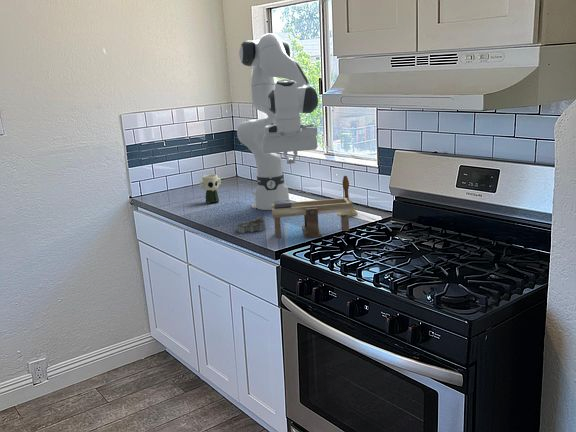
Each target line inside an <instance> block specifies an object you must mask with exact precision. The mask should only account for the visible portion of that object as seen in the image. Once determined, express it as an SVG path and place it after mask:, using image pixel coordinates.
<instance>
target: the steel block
mask: <svg viewBox="0 0 576 432" xmlns="http://www.w3.org/2000/svg"><path fill="white" fill-rule="evenodd" d="M291 201H292V200H291V199H289V200H283V201H274V206H275V209H280V208H291Z"/></svg>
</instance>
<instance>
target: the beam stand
mask: <svg viewBox="0 0 576 432" xmlns="http://www.w3.org/2000/svg"><path fill="white" fill-rule="evenodd" d="M273 220H274V221H273V222H274V224H273V225H274V235H275V236H274V237H275V238H282V229H281V217H277V218H273ZM303 220H304V225H301V229H302V232H303V235H304V238H305V239H313V238H322V237H323V234H322V232H321V230H320V227H319V214H318V209H317V208H308V209H306V215H303ZM349 220H350V219H349V217H348V216H347V214H346V213H344V214H341V216H340V226H341V230H342V231H349V232H350V221H349Z"/></svg>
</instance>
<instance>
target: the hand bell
mask: <svg viewBox="0 0 576 432" xmlns="http://www.w3.org/2000/svg"><path fill="white" fill-rule="evenodd" d="M349 187H350V182H349V178H348V176H347V175H343V178H342V189H343V191H344V192H343V193H344V194H343V195H344V198H347V200H348V201H349V202H350V211H346V212H337V213H336V214H337V216H339V217H341V214H344V213H346V214H347V216H348V217H355V216H357V215H358V214H359V213H358V211H356V209H355V206H354V204H353V203H354V202H353V200H351V199H350V196H349V189H350V188H349Z"/></svg>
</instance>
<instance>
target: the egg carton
mask: <svg viewBox="0 0 576 432" xmlns="http://www.w3.org/2000/svg"><path fill="white" fill-rule="evenodd" d="M236 226H237V230H238V231H237V232H238V233H241V234H242V233H246V232H251V233H253V232H255V231H259V232H262V231H264V230H265V229H266V228H265V226H266V225H265V222H264V219H263V216H259V217H255V218H254V219H251V220H248V221H242V222H237V223H236Z"/></svg>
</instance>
